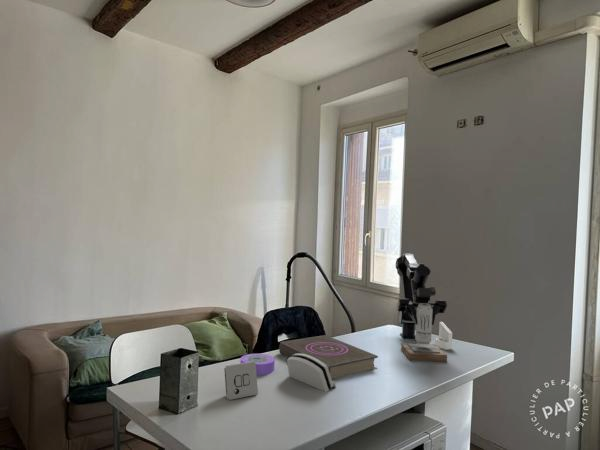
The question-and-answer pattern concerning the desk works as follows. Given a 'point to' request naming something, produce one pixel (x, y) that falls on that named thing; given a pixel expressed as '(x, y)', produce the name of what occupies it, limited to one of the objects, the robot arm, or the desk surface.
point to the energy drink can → (424, 323)
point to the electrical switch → (241, 380)
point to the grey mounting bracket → (310, 371)
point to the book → (331, 354)
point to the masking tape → (260, 362)
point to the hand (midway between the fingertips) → (424, 324)
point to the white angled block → (444, 337)
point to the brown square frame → (423, 352)
